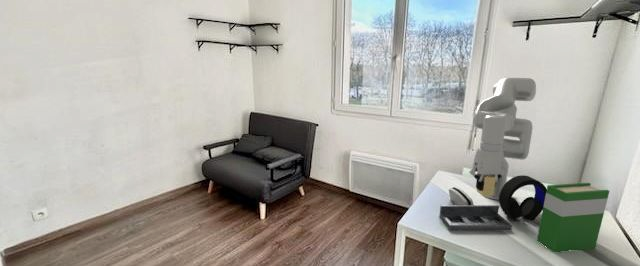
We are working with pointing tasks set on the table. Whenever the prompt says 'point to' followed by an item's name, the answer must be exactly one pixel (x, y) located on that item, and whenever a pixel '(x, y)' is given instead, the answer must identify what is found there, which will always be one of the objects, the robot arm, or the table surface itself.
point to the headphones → (529, 206)
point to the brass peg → (488, 185)
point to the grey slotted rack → (473, 217)
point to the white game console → (459, 196)
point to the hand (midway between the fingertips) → (485, 189)
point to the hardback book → (572, 217)
